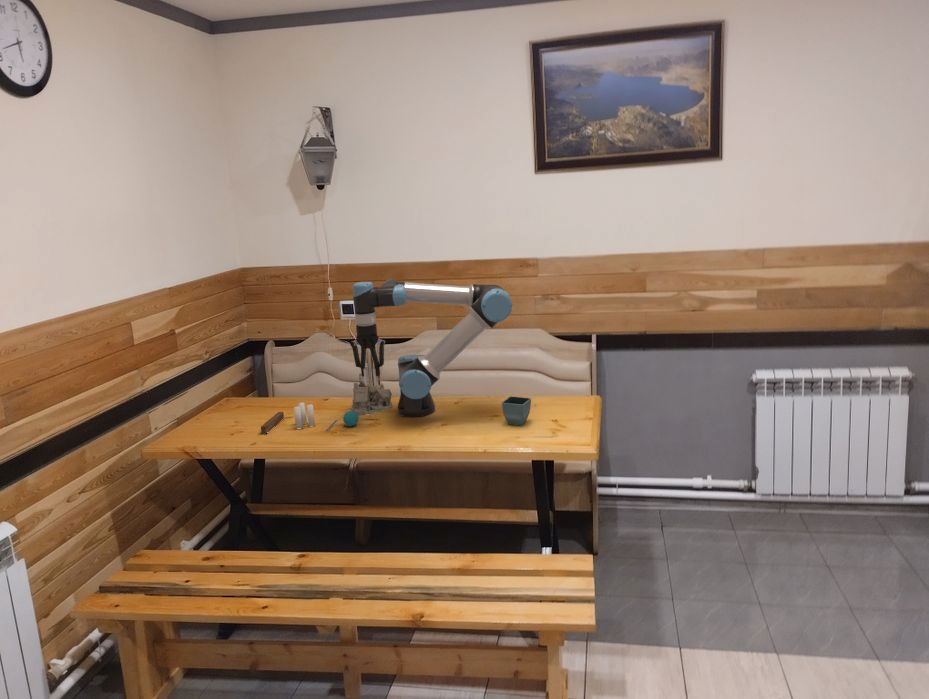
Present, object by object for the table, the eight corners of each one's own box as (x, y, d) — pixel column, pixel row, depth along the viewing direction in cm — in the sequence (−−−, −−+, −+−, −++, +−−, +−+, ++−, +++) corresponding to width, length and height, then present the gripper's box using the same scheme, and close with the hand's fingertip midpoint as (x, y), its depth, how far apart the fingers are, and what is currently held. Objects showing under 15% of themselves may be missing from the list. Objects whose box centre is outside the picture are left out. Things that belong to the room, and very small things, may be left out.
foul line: (338, 420, 307) (338, 420, 307) (328, 431, 295) (328, 430, 295) (335, 420, 307) (335, 420, 307) (325, 431, 296) (325, 430, 296)
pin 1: (303, 427, 302) (300, 406, 300) (301, 429, 300) (298, 408, 298) (297, 427, 302) (295, 406, 300) (295, 429, 300) (292, 408, 298)
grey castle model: (345, 414, 314) (344, 378, 310) (361, 403, 329) (361, 369, 326) (381, 418, 310) (381, 382, 306) (396, 407, 325) (396, 372, 322)
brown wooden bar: (284, 418, 314) (283, 411, 313) (266, 434, 296) (265, 426, 296) (279, 418, 314) (278, 411, 313) (261, 434, 297) (260, 426, 296)
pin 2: (307, 422, 307) (305, 402, 305) (305, 425, 304) (303, 404, 302) (302, 423, 307) (299, 402, 305) (299, 425, 305) (297, 404, 303)
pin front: (316, 425, 304) (313, 404, 302) (313, 427, 301) (311, 406, 299) (310, 425, 304) (307, 404, 302) (308, 427, 302) (305, 406, 300)
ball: (361, 423, 302) (359, 408, 301) (356, 428, 297) (355, 413, 295) (346, 423, 303) (345, 408, 302) (341, 428, 298) (340, 413, 296)
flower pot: (532, 420, 294) (531, 397, 291) (524, 428, 286) (523, 404, 284) (510, 418, 297) (509, 396, 295) (502, 425, 290) (501, 402, 287)
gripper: (389, 321, 291) (394, 381, 297) (348, 322, 294) (354, 382, 299) (384, 325, 284) (389, 387, 290) (342, 326, 287) (348, 387, 292)
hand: (371, 384), depth 295 cm, fingers open, 3 cm apart
